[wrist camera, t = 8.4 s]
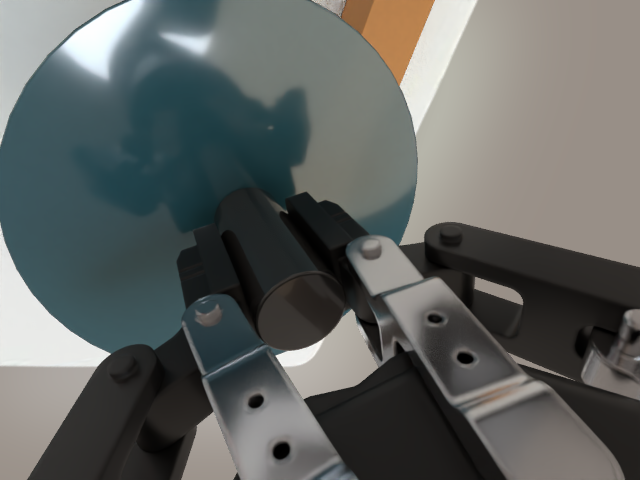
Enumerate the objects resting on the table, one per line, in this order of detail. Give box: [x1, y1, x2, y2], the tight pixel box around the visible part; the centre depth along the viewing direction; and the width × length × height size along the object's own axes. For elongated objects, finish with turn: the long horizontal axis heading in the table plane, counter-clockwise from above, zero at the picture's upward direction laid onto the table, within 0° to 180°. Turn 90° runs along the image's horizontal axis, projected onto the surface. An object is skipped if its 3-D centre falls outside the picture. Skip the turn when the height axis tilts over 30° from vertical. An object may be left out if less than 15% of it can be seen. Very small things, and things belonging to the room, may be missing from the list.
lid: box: [0, 0, 418, 355], centre depth 12 cm, size 14×14×7 cm
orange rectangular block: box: [341, 0, 435, 86], centre depth 29 cm, size 8×4×4 cm, turn 158°
